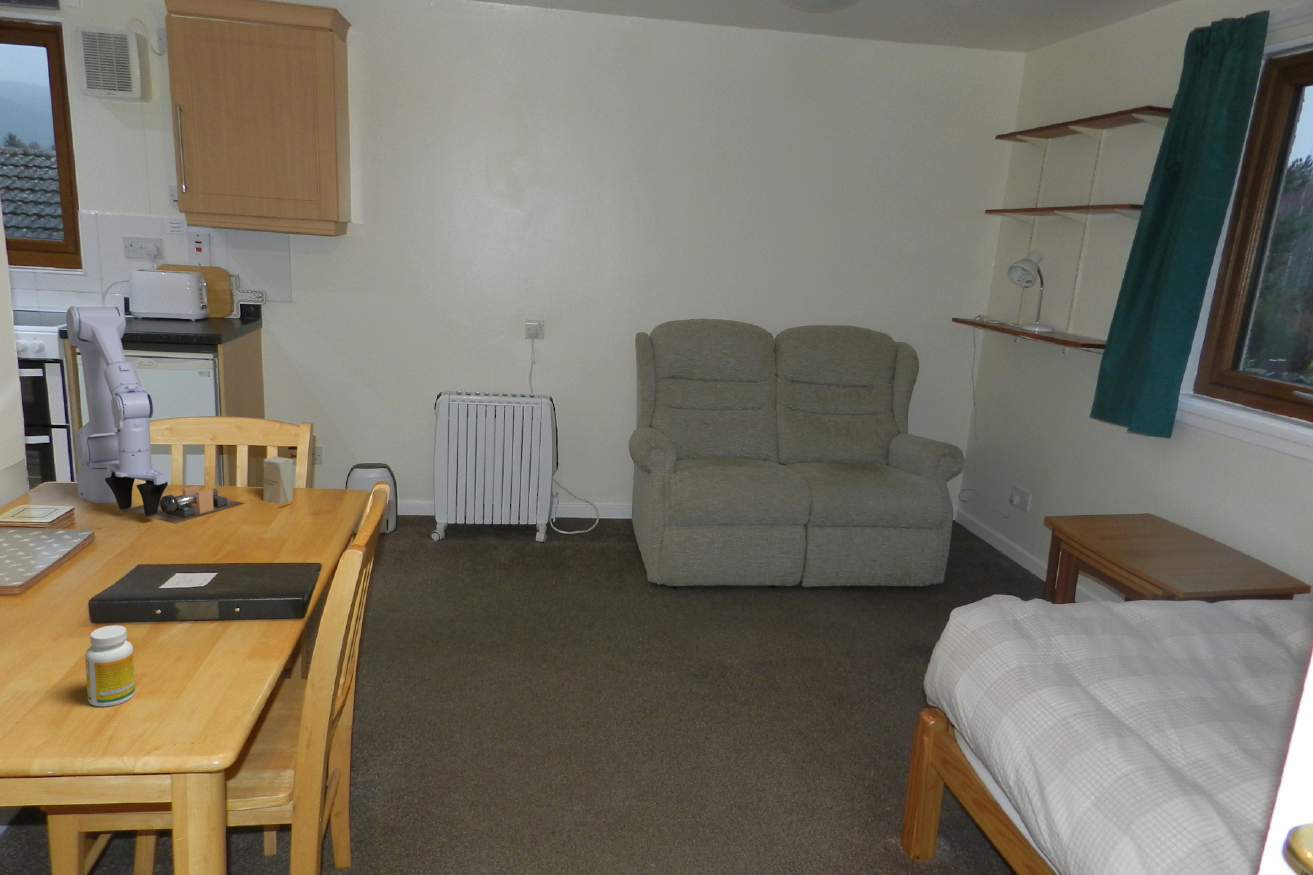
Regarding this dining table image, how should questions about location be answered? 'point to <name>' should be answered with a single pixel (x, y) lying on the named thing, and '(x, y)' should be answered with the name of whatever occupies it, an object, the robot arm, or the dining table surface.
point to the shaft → (178, 502)
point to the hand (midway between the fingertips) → (138, 511)
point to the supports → (189, 511)
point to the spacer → (200, 499)
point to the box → (278, 480)
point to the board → (176, 519)
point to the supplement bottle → (109, 667)
